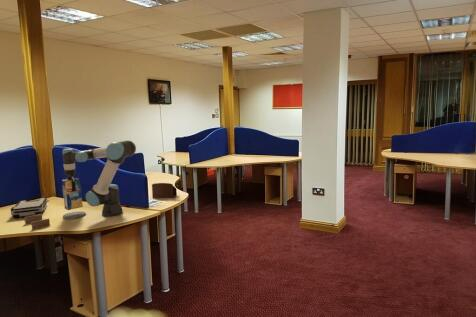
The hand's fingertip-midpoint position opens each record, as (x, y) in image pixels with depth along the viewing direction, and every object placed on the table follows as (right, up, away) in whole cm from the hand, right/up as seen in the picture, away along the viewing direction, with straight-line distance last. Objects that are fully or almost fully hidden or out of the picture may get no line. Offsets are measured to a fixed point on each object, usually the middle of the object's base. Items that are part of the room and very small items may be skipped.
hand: (72, 199), depth 268 cm
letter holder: (+59, -4, +52) cm, 79 cm away
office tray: (-42, -13, +17) cm, 47 cm away
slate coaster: (0, -13, +2) cm, 13 cm away
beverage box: (0, -7, +1) cm, 7 cm away
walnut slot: (-17, -16, -17) cm, 29 cm away
